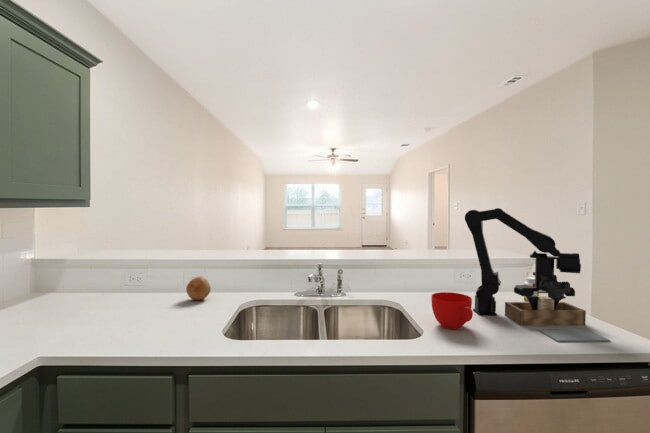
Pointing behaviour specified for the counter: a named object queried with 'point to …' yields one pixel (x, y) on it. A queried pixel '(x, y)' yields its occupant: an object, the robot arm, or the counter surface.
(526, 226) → the robot arm
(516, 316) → the walnut crate
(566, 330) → the slate mat
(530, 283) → the supplement bottle
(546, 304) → the maple block
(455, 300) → the ceramic cup
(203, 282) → the onion
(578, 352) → the counter surface
